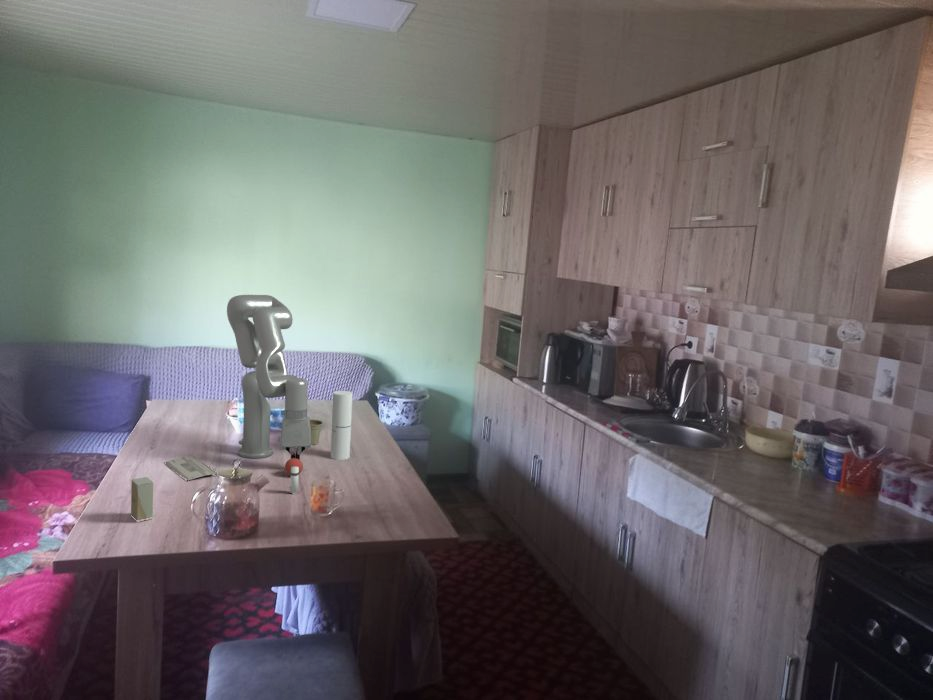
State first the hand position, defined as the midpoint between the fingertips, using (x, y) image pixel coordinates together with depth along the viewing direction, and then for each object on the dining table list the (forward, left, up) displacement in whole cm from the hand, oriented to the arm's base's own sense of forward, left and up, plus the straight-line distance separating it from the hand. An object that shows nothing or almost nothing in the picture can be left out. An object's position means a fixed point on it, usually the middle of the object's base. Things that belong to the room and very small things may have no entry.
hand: (295, 464), depth 230 cm
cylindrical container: (0, +22, -2) cm, 22 cm away
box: (+3, -57, -2) cm, 57 cm away
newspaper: (-25, -24, -3) cm, 34 cm away
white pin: (+17, -15, -2) cm, 22 cm away
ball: (+4, -4, +1) cm, 5 cm away
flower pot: (-21, +26, -2) cm, 34 cm away
